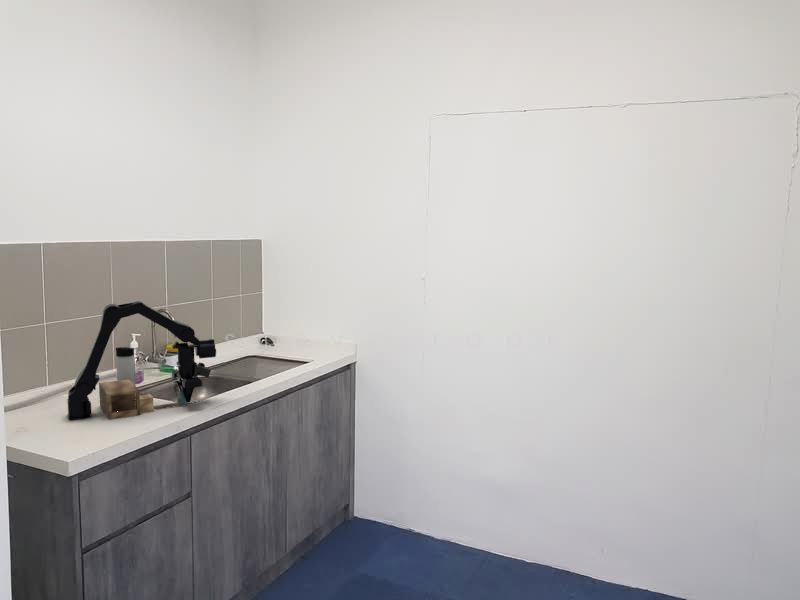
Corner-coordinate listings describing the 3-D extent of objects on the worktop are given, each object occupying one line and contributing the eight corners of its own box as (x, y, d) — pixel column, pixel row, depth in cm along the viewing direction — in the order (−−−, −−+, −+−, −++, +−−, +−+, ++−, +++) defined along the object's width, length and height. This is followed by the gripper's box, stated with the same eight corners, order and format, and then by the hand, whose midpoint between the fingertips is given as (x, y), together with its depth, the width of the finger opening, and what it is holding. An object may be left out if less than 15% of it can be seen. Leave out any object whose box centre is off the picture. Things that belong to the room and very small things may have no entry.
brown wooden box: (108, 419, 211) (107, 394, 210) (100, 406, 226) (98, 382, 225) (140, 414, 217) (139, 390, 216) (130, 402, 232) (129, 379, 230)
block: (138, 413, 219) (138, 399, 218) (135, 409, 223) (135, 396, 222) (187, 406, 228) (187, 392, 227) (183, 402, 232) (183, 389, 231)
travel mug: (113, 399, 235) (111, 347, 233) (128, 395, 241) (126, 344, 238) (124, 402, 232) (122, 348, 230) (139, 397, 238) (137, 346, 236)
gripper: (216, 361, 225) (217, 404, 227) (201, 352, 241) (202, 392, 242) (184, 365, 219) (185, 408, 221) (171, 355, 234) (172, 396, 236)
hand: (187, 401), depth 230 cm, fingers closed on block, 2 cm apart
